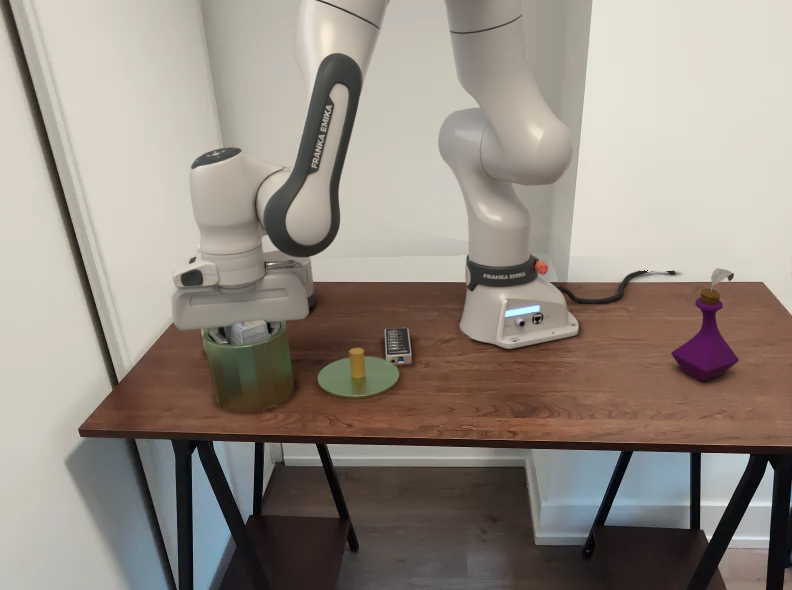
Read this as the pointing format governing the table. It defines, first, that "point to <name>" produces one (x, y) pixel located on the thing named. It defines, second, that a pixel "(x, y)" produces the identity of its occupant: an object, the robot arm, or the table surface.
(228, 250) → the robot arm
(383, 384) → the tin lid
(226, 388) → the tin
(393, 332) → the multiport hub
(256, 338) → the medicine box
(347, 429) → the table surface
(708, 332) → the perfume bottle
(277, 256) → the planter
